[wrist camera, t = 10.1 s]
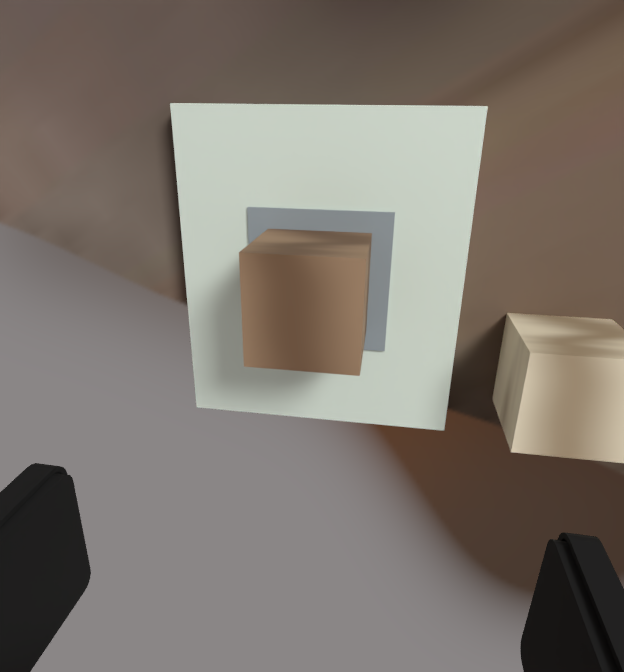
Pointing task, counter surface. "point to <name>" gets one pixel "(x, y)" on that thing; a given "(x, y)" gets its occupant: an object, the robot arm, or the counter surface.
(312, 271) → the walnut cube
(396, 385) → the build board
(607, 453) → the maple cube
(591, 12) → the counter surface
